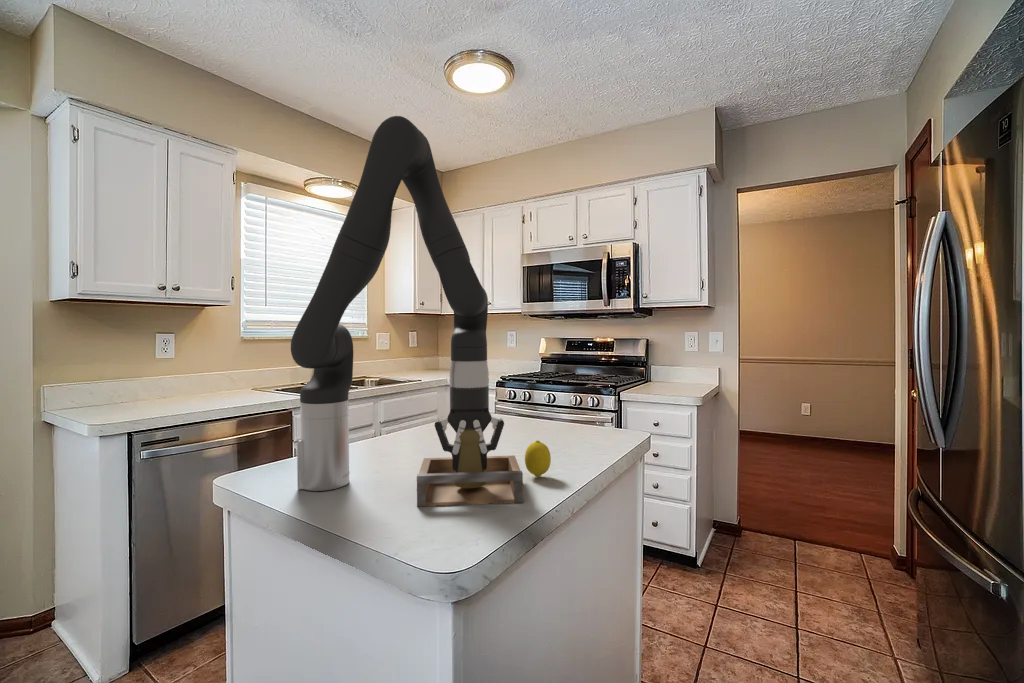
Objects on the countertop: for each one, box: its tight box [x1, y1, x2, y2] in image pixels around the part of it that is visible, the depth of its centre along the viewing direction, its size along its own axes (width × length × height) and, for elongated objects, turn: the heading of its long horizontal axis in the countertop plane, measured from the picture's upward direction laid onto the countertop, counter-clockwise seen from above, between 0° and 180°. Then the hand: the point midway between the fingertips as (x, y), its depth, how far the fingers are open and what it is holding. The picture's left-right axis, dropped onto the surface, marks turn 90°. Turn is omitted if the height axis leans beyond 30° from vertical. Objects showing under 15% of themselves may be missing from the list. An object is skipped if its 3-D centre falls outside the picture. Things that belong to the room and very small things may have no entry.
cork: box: [455, 428, 486, 488], centre depth 94 cm, size 6×6×11 cm
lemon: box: [524, 439, 552, 478], centre depth 103 cm, size 6×6×8 cm
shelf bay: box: [416, 455, 524, 508], centre depth 94 cm, size 19×14×6 cm
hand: (469, 471), depth 94 cm, fingers closed on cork, 4 cm apart
